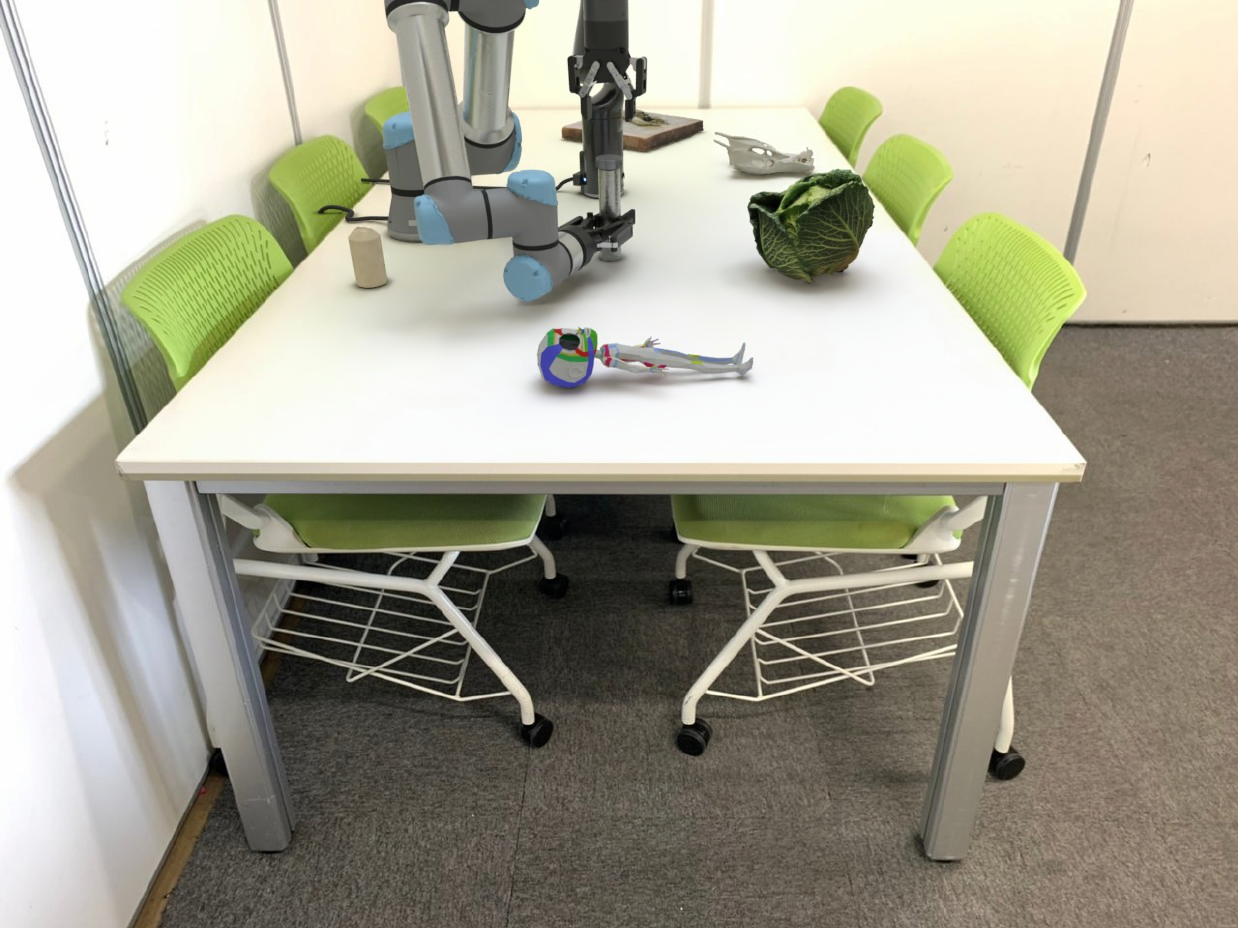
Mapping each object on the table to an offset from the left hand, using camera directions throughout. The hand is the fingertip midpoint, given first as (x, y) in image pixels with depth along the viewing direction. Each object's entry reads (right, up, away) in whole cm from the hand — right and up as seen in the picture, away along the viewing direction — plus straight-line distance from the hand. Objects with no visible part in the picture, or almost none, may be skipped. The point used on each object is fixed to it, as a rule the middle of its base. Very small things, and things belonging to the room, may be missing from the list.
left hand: (622, 214), depth 172 cm
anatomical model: (+35, +25, +51) cm, 66 cm away
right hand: (-3, +13, -14) cm, 19 cm away
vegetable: (+34, -14, -10) cm, 37 cm away
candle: (-45, -15, -10) cm, 49 cm away
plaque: (+4, +47, +87) cm, 99 cm away
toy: (+3, -36, -44) cm, 56 cm away
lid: (-2, +7, -10) cm, 13 cm away
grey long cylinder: (-2, -8, 0) cm, 9 cm away
